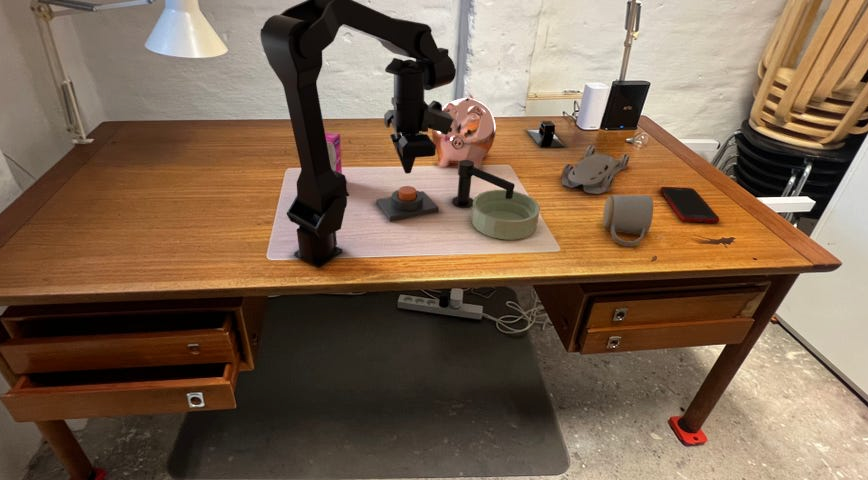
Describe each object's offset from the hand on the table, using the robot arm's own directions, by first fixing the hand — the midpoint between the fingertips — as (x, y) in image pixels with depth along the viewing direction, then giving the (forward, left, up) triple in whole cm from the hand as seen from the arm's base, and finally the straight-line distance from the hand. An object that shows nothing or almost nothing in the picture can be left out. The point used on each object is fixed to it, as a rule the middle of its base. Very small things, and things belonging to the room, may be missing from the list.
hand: (407, 172), depth 103 cm
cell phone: (+38, -49, -8) cm, 63 cm away
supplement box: (-2, +21, -8) cm, 23 cm away
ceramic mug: (+18, -41, -8) cm, 46 cm away
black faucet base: (+9, -8, -8) cm, 15 cm away
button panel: (0, 0, -8) cm, 8 cm away
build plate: (+56, -8, -8) cm, 57 cm away
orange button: (0, 0, -6) cm, 6 cm away
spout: (+8, -14, -2) cm, 16 cm away
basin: (+7, -20, -8) cm, 22 cm away
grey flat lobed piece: (+40, -27, -8) cm, 49 cm away
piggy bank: (+28, +3, -8) cm, 29 cm away
